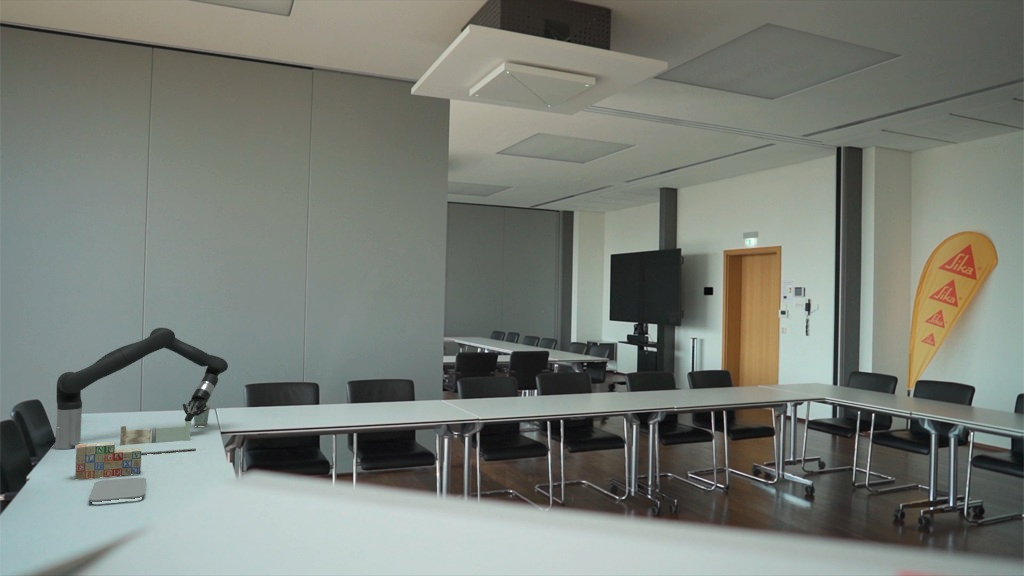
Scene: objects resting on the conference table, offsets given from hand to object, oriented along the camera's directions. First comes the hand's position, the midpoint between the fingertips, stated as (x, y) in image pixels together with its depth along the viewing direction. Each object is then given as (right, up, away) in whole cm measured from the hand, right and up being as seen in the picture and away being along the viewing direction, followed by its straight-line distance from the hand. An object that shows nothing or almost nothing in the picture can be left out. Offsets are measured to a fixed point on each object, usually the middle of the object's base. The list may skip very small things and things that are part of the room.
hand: (186, 421), depth 323 cm
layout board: (-6, -8, -18) cm, 20 cm away
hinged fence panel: (-3, -7, -9) cm, 12 cm away
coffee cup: (-9, -10, +34) cm, 37 cm away
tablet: (+18, -8, -87) cm, 90 cm away
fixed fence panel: (-15, -7, -17) cm, 24 cm away
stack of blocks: (+1, -8, -65) cm, 65 cm away
